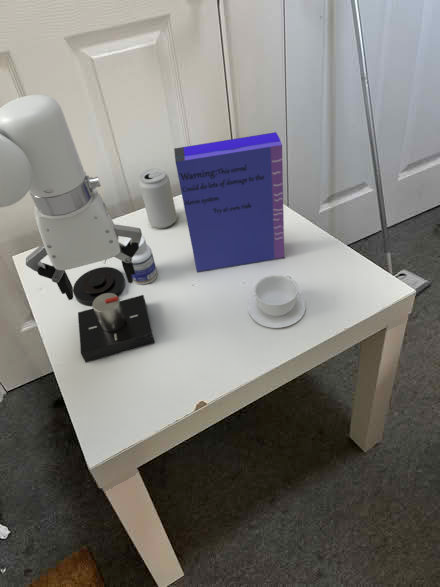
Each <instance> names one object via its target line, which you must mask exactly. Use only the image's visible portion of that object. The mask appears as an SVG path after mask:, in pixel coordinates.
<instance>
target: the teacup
mask: <svg viewBox="0 0 440 587" xmlns="http://www.w3.org/2000/svg"><path fill="white" fill-rule="evenodd" d="M253 293H254V295H252V297H251V298H250V300H249V302H248V307H247V310H248V314H249V316H250V318H251V319H252V320H253V321H254V322H255V323H257V324H259V325H261V326H263V327H267V328H273V329H279V328H280V329H281V328H286V327H289V326H292V325H293V324H295V323H297V322H299V321H300V320H301V319H302V318H303V317H304V315H305V313H306V306H307V305H306V302H305V300H304V298H303V297H302V295H301V294H299V287H298V284H297V282H296V281H295V280H293V278H292V277H291V276H288V275H282V274H271V275H267V276H265V277H263V278H261V279H259V280H258V281H257V283H256V284H255V286H254V288H253Z"/></svg>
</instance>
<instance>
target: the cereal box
mask: <svg viewBox="0 0 440 587" xmlns="http://www.w3.org/2000/svg"><path fill="white" fill-rule="evenodd" d="M173 151H174V160H175V161H174V162H175V166H176V172H177V176H178V183H179V187H180V192H181V198H182V202H183V208H184V214H185V218H186V223H187V228H188V233H189V239H190V244H191V249H192V254H193V259H194V264H195V270H196V273H201V272H202V273H203V272H209V271H215V270H219V269H220V270H221V269H227V268H232V267H240V266H246V265H251V264H258V263H263V262H270V261H276V260H282V259H285V227H284V225H285V224H284V223H285V222H284V221H285V219H284V218H285V217H284V180H283V179H284V175H283V172H284V169H283V167H284V166H283V165H284V164H283V142H282V141H281V139H280V137H279V134H278V133H277V131H274V132H268V133H262V134H261V133H260V134H255V135H249V136H243V137H237V138H231V139H225V140H218V141H213V142H205V143H200V144H195V145H188V146H179V147H174V148H173Z"/></svg>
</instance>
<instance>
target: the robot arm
mask: <svg viewBox="0 0 440 587" xmlns="http://www.w3.org/2000/svg"><path fill="white" fill-rule="evenodd" d="M75 144H76V143H75V142H74V139H73V136H72V134H71V131H70V128H69V125H68V122H67V120H66V117H65V114H64V112H63V110H62V107H61V105H60V103H59V102H58V101H57V100H56V99H54V98H53V97H52V96H49V95H46V94H29V95H24V96H21V97H18V98H15V99H13V100H10V101H9V102H6V103H5V104H4V105H3V106H1V107H0V209H1V208H6V207H10V206H12V205H15V204H16V203H19V202H20V201H21V200H22V199H23V198H24V197H25V196H26V195H27V194H28V192H29V194H30V196H31V198H32V200H33V203H34V204H35V205H34V206H33V212H34V218H35V222H36V225H37V229H38V232H39V235H40V238H41V241H42V244H41V245H39V247H37V248H35V250H34V251H32V252H31V253H30V254H29V255H27V256H26V258H25V265H26V267H27V268H30V269H31V270H32V271H34V272H36V273H37V274H38V275H39V276H40V277H44V278H47V279H50V280H51V281H52V283H54V284H55V283H56V285H57V287H58V290H59V291H60V293H61V294H62V295H66V298H67V300H68V301H72V300H73V299H74V293H73V287H74V286H73V284H72V283H71V280H70V278H69V276H68V274H67V272H66V271H67V270H73V269H76V268H80V267H83V266H88V265H92V264H96V263H98V262H102V261H106V260H110V259H112V258H116V259H118V260H120V261H121V265H122V268H123V271H124V275H125V277H126V279H127V282H128V284H132V283H133V284H134V282H133V279H132V275H134V274H135V270H134V267H133V264H132V257H133V256H134V254H135V253H136V252H137V250H138V249H139V243H140V241H141V237H142V236H143V233H142V229H141V228H140V227H135V226H128V225H121V224H115V223H114V221H113V218H112V216H111V214H110V211H109V209H108V207H107V205H106V203H105V201H104V199H103V197H102V196H101V194H100V193H99V191H98V189H96V188H100V187H102V186H101V185H102V184H101V182H100V179H99V176H95V177H93V176H91V177H90V176H89V175H87V173H86V171H85V170H84V167H83V163H82V161H81V158H80V155H79V153H78V150H77V148H76V145H75ZM119 237H121V238H131V240H130V241H129V242H128V244H127V245H126V246H125V245H124V243H121V242H120V241H119ZM46 257H48V259H49V261H50V263H51V264H47V263H46V262H42V260H43V259H44V258H46Z"/></svg>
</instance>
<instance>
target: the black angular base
mask: <svg viewBox="0 0 440 587" xmlns="http://www.w3.org/2000/svg"><path fill="white" fill-rule="evenodd" d="M119 301H120V304H121V306H122V309H123V312H124V314H125V317H126V322H125V324H124V326H123V327H122V328H120V329H119V330H117V331H113V332H108V331H105V330H103V329H102V328H101V325H100V323H99V321H98V318H97V316H96V314H95V311H94V309H93V308H89V309H86V310H82V311H78V312H77V318H78V331H79V332H78V334H79V347H80V348H79V350H80V355H81V357H82V359H83V361H84V363H90V362H93V361H97V360H100V359H105V358H107V357H111V356H114V355H118V354H121V353H124V352H128V351H132V350H136V349H139V348H142V347H143V348H144V347H146V346H149V345H153V344H156V340H155V336H154V332H153V328H152V323H151V319H150V314H149V309H148V305H147V301H146V298H145V296H144V294H141V295H138V296H137V295H136V296H133V297H130V298H126V299H122V300H119Z"/></svg>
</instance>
